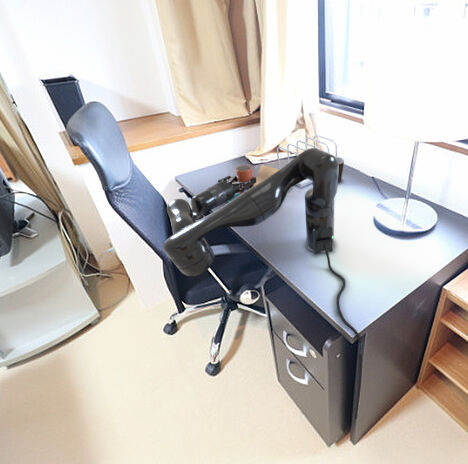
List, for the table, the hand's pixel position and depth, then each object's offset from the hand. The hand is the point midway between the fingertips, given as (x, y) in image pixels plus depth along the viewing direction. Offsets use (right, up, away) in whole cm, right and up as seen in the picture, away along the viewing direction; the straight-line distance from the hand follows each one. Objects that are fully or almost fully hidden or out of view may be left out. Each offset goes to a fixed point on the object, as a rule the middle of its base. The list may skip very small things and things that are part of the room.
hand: (248, 177), depth 128 cm
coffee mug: (+34, +7, +18) cm, 39 cm away
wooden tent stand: (+6, -3, +14) cm, 15 cm away
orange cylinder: (+1, -3, +4) cm, 5 cm away
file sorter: (+23, +6, +27) cm, 37 cm away
